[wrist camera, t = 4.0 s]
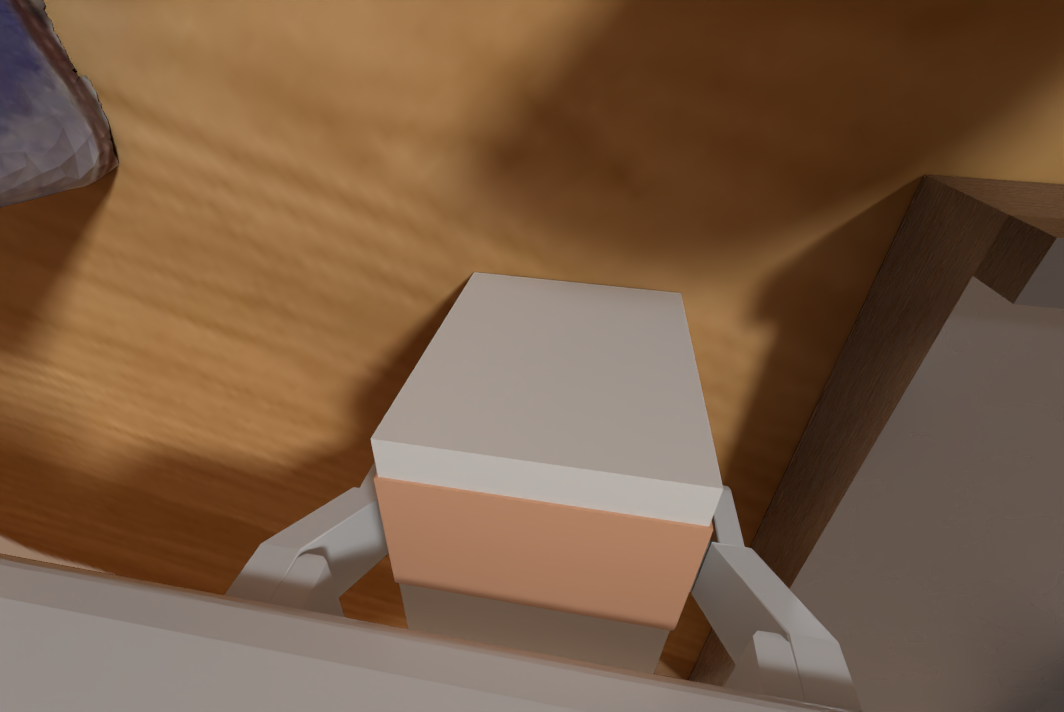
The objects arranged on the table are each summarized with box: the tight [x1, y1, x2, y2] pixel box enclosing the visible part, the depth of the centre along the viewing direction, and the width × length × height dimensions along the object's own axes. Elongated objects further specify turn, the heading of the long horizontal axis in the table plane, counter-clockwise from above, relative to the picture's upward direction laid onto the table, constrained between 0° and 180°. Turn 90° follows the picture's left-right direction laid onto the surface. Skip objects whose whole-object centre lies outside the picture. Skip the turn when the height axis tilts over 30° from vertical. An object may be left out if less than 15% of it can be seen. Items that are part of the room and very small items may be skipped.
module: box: [371, 272, 723, 674], centre depth 12 cm, size 5×8×6 cm, turn 178°
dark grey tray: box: [689, 175, 1064, 712], centre depth 13 cm, size 12×22×5 cm, turn 178°
